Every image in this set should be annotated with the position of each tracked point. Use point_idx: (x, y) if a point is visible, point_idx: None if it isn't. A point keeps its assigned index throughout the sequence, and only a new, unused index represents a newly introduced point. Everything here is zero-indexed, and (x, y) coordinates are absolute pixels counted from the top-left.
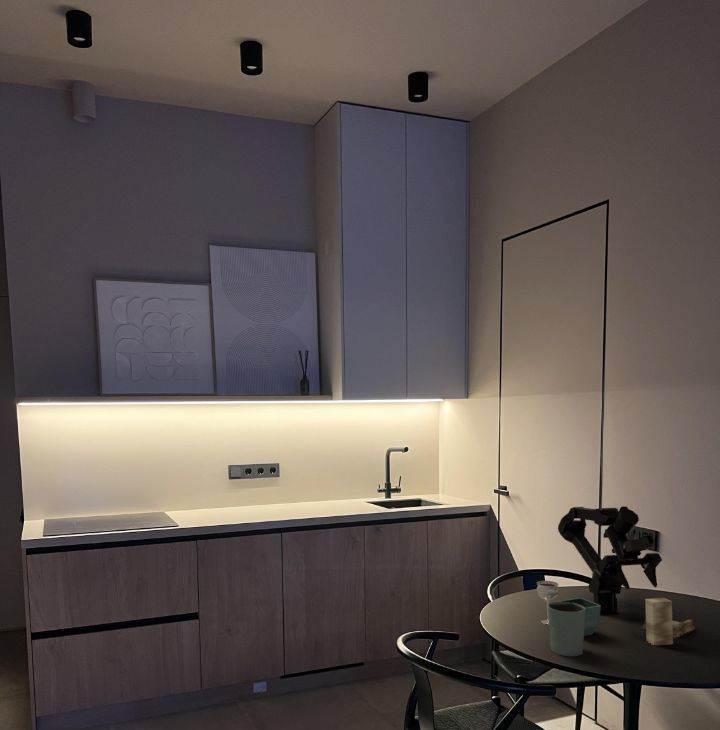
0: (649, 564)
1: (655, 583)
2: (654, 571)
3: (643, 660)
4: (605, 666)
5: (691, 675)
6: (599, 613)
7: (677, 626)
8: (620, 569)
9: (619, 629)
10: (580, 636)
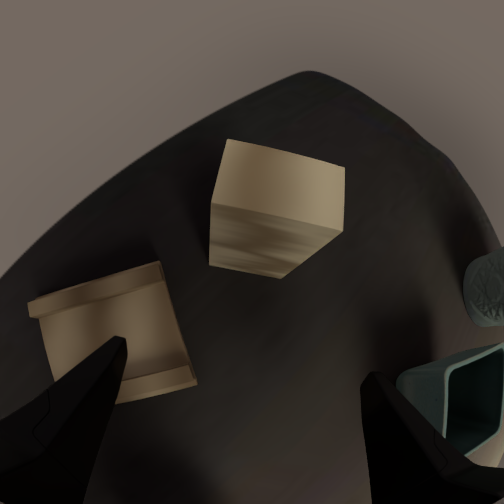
0: (20, 501)
1: (118, 346)
2: (33, 414)
3: (379, 177)
4: (454, 194)
5: (330, 92)
6: (431, 366)
7: (121, 277)
8: (460, 473)
9: (283, 407)
10: (500, 248)
